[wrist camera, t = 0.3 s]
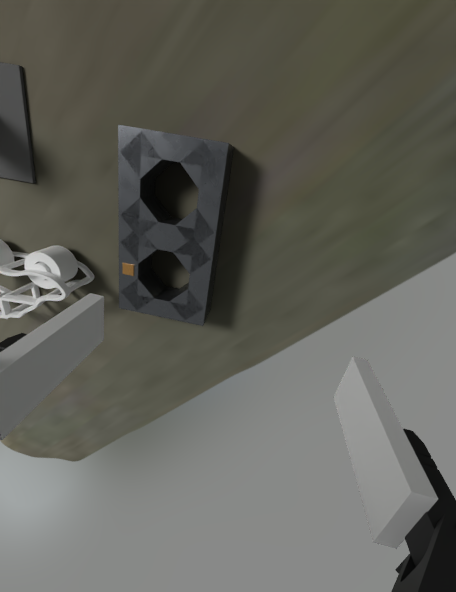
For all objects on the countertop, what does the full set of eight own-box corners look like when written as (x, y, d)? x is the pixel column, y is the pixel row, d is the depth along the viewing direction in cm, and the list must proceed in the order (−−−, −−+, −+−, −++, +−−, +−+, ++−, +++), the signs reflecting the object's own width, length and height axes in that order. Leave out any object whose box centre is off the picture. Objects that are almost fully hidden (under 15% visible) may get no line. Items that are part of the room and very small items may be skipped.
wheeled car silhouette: (91, 246, 45) (59, 259, 38) (98, 308, 49) (71, 329, 43) (-23, 232, 47) (-72, 241, 40) (-6, 293, 51) (-47, 310, 45)
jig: (137, 130, 37) (117, 124, 32) (234, 146, 36) (228, 143, 32) (133, 294, 47) (118, 308, 42) (209, 310, 46) (202, 326, 42)
